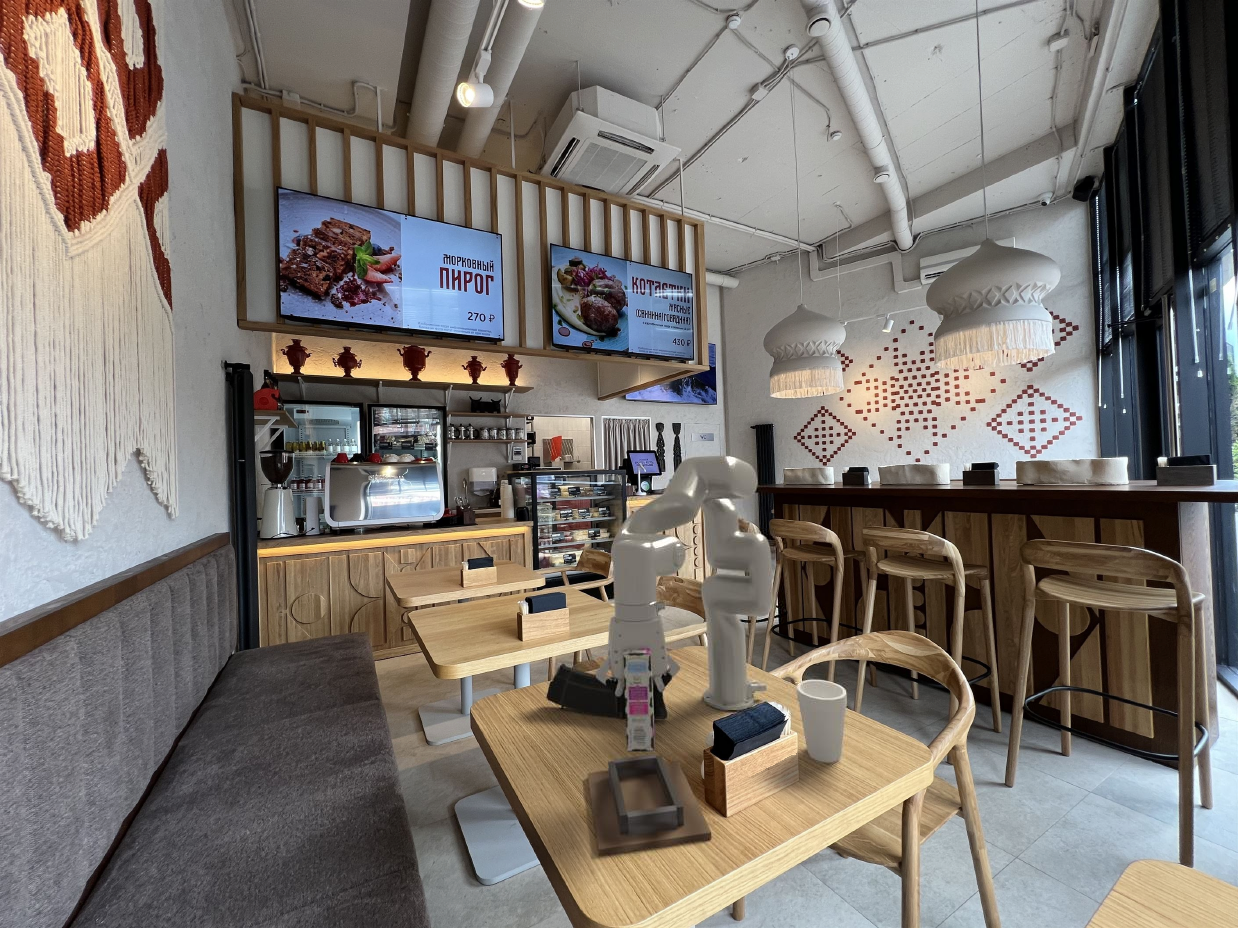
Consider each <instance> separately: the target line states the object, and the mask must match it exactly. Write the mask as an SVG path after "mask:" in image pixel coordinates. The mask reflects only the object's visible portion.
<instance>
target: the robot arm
mask: <svg viewBox="0 0 1238 928" xmlns="http://www.w3.org/2000/svg"><path fill="white" fill-rule="evenodd" d="M757 488H758V477H757V473H756V471H755V469H754V467H753V466H752V465H751V464H750V463H748V462H746V461H743V460H741V459H740V458H738V457H734V456H730V455H710V456H709V455H708V456H693V457H687V458H686V459H684V460H683V461H681V462H680V464H678V466H677V468H676V469H675V472H674V473H673V475H672V477H671V479H670V480H669V482H668V484H667V485H666V488H665V489H664V490H663V493H662V494H661V495H660V496H658V497H656V498H654V499H652V500H650V502H647V503H646V504H644V505H642V506H641V507H639V508H638V509H636V510H635V511H634V512H632V513H631V514H629V516H628V517H626V519H625V520H624V522H623V523H622V525H621V526H620V528H619V530H618V531H617V533H616V534H615V537H614V539H613V542H612V544H611V549H610V557H611V561H612V566H613V568H612V574H613V575H612V576H613V594H614V595H613V599H614V602H613V603H614V616H612V617H610V620H609V626H608V639H607V640H608V641H607V642H608V643H607V645H608V646H607V657H606V659H604V661H603V662H602V663H601V665H600V666H599V667H598V669H597V670H596V672H595V675H596V678H597V679H598V680H600V681H601V682H602V683H604V684H605V685H606V686H607V687H608V688H609V689H610V690H612V691H613V692H614V693H615V698H616V711H617V713H618V712H620V715H621V718H622V719H621V720H626V719H625V718H626V711H625V695H624V692H623V688H624V660H623V651H626V650H637V649H650V650H651V662H652V677H653V680H654V682H655V684H654V686H653V709H654V711H655V713H656V715H661V709H660V708H663V700H664V691H665V690H666V687H667V685H669V683H670V682H671V681H672V679H673V678H674V677H676V675H677V674H678V673H679V672H680V671H681V666H680V665H679V663H678V662H676V660H674V658H673V657H672V656H671V655H670V654H669V653H668V652H667V644H666V636H665V630H664V626H663V625H664V624H663V621H662V620H663V619H662V617H661V615H660V614H659V612H660V611H662V610H665V609H666V603H665V601H659V600H657V599H658V598H657V597H658V595H657V577H664V576H665V577H666V576H671V575H674V574H676V573H677V572H679V571H680V570H681V568H682V567H683V566H684V563H685V560H686V555H687V554H686V548H685V545H684V543H683V542H682V541H681V540H680V539H679V538H678V537H676V536H674V535H671V534H659V533H661V532H665V531H669V530H672V529H675V528H679V527H681V526H684V525H687V524H689V523H690V522H692V521H694V520H695V519H696V517H697V516H698V514H699V512H700V509H701V510H702V513H703V518H704V542H705V556H706V562H707V563H708V565H709V566H710V567H712V568H715V569H718V570H724V571H725V570H727V571H741V572H742V571H743V572H748V574H749V575H739V574H728V573H715V574H711V575H710V574H709V575H708V576H706V577H705V578H704V580H703V581H702V584H701V589H700V590H701V599H702V603H703V609H704V615H705V621H706V639H707V641H706V642H707V644H706V645H707V666H708V667H707V668H708V687H709V688H706V689H705V690H704V692H703V700H704V702H705V704H707V705H708V706H710V707H711V708H714V709H717V710H720V711H727V710H734V709H735V710H736V709H737V711H743V710H746V709H748V707H749V708H750V707H752V706H753V705H754V703H755V695H754V694H755V692H766V691H767V684H766V683H765V682H759V683H758V682H757V680H755V679H754V680H748V672H747V671H748V670H747V669H748V668H747V647H746V630H745V628H744V625H743V623H742V620H741V619H740V618H739V616H749V617H761V618H762V617H766V616H768V615H769V614H770V613H771V610H772V608H773V602H774V601H773V600H774V598H773V596H774V593H773V571H772V555H771V554H772V553H771V547H770V543H769V540H768V538H767V537H766V536H765V535H764V534H761V533H758V532H751V531H750V532H746V531H745V532H744V531H743V532H742V531H741V530H740V526H739V525H740V524H739V512H738V510H737V508H736V506H735V504H734V503H733V501H732V500H747V499H750V498H751V497H753V495H755V493H756V491H757ZM738 615H739V616H738ZM668 666H669V667H668ZM609 670H610V672H611V673H610V674H611V676H608V675H607V673H608V672H609ZM611 677H613V678H615V681H614V680H613V679H612V678H611Z"/></svg>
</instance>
